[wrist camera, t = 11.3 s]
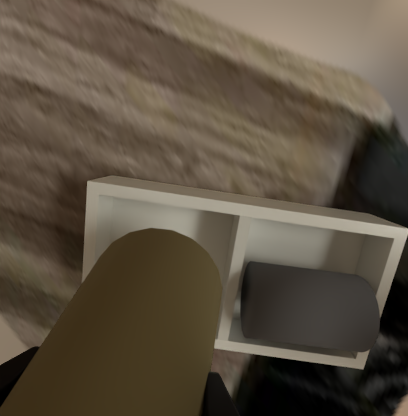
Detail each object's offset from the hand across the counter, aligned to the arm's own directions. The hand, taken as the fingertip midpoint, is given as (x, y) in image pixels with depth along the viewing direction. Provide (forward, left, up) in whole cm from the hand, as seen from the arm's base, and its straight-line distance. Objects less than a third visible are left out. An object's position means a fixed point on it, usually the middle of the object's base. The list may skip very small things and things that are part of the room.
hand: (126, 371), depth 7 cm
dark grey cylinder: (-8, +1, -7) cm, 10 cm away
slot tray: (-4, 0, -10) cm, 11 cm away
